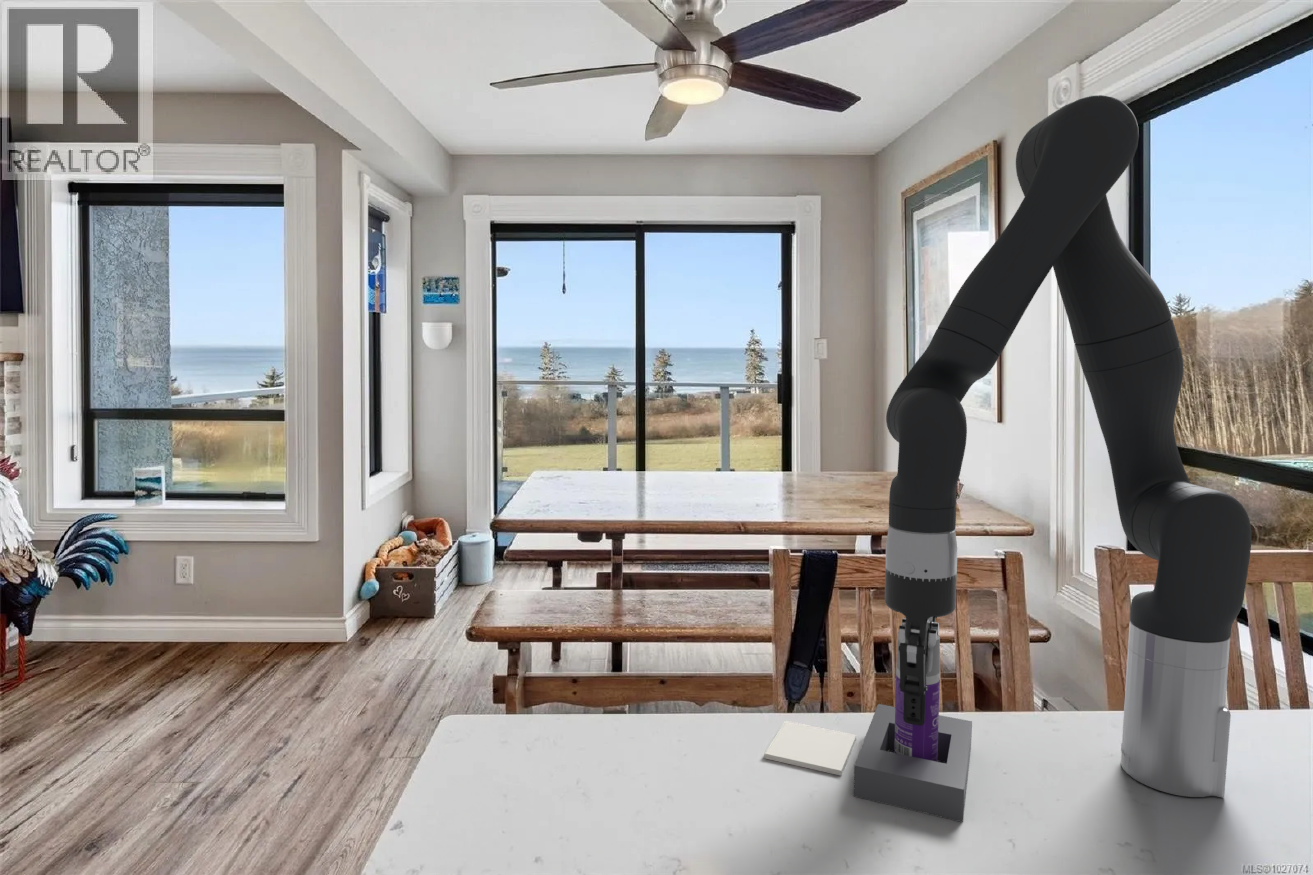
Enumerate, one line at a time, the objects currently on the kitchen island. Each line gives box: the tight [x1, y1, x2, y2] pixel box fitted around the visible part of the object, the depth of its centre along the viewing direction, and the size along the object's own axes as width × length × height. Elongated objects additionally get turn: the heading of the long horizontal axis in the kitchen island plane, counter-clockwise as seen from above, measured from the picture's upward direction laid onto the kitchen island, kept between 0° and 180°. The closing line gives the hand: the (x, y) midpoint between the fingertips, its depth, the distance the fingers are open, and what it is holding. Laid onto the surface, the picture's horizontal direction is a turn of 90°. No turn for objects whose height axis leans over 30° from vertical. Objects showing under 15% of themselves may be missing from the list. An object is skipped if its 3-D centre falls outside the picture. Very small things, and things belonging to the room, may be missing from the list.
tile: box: [764, 720, 857, 776], centre depth 92 cm, size 9×9×1 cm
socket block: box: [852, 703, 973, 823], centre depth 87 cm, size 11×16×4 cm
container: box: [893, 631, 941, 762], centre depth 86 cm, size 5×5×15 cm
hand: (916, 712), depth 86 cm, fingers closed on container, 4 cm apart
